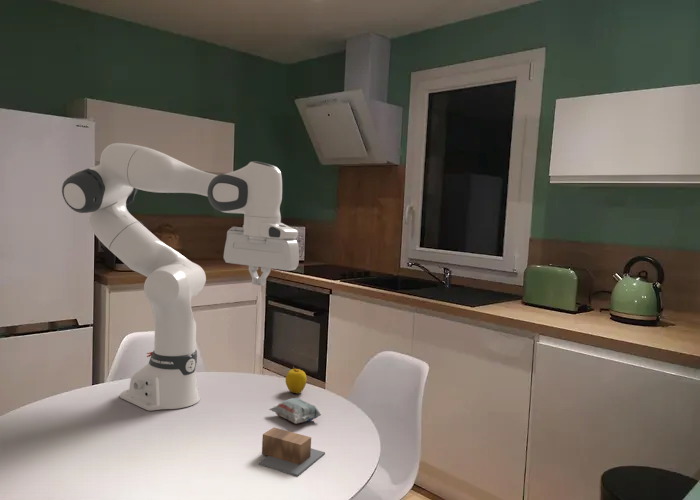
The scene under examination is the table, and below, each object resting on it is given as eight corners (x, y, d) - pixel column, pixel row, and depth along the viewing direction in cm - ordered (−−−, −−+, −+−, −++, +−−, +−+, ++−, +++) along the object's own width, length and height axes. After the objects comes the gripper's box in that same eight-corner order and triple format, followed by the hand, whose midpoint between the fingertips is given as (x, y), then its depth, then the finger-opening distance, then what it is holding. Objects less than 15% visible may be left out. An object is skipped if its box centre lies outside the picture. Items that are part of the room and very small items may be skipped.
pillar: (261, 433, 117) (301, 444, 113) (272, 427, 122) (311, 437, 117) (260, 453, 118) (300, 464, 113) (272, 445, 122) (310, 456, 117)
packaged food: (295, 430, 132) (296, 411, 132) (268, 416, 141) (269, 398, 140) (321, 423, 138) (322, 404, 138) (294, 409, 147) (295, 392, 147)
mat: (258, 464, 114) (258, 462, 114) (288, 443, 124) (288, 442, 124) (297, 476, 109) (297, 474, 109) (325, 453, 120) (325, 452, 120)
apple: (285, 389, 162) (286, 363, 162) (305, 389, 163) (306, 364, 163) (284, 396, 156) (286, 370, 156) (306, 396, 157) (307, 370, 156)
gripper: (219, 225, 129) (216, 281, 130) (290, 232, 121) (286, 291, 122) (235, 225, 135) (232, 278, 136) (303, 232, 126) (300, 288, 127)
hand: (258, 284), depth 129 cm, fingers closed
